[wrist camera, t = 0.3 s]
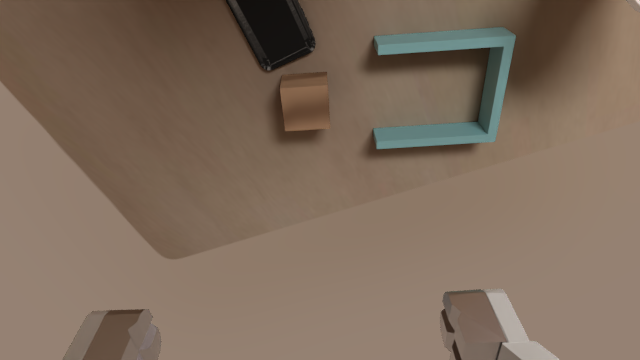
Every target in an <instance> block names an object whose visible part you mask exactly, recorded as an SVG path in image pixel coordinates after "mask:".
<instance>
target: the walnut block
mask: <svg viewBox="0 0 640 360" xmlns="http://www.w3.org/2000/svg"><path fill="white" fill-rule="evenodd" d="M280 95H281V102H282V110H283V118H284V126H285V131H299V130H314V129H329V128H330V117H329V99H328V83H327V72H317V73H303V74H288V75H282V79H281V84H280Z"/></svg>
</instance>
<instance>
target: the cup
mask: <svg viewBox="0 0 640 360" xmlns="http://www.w3.org/2000/svg"><path fill="white" fill-rule="evenodd" d="M626 1H627V2H628V3H629V4H630V6H631V7H632V8H633V9H634V10H635V11H638V12H640V0H626Z"/></svg>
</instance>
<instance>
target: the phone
mask: <svg viewBox="0 0 640 360" xmlns="http://www.w3.org/2000/svg"><path fill="white" fill-rule="evenodd" d="M226 2H227V3H228V5H229V7H230V9H231V11H232V13H233V15H234V16H235V18H236V20H237V22H238V24H239V26H240V28H241V30H242V31H243V33H244V35H245V37H246V39H247V41H248V43H249V45H250V46H251V48H252V50H253V52H254V54H255V56H256V58H257V59H258V61H259V63H260V65H261V66H262V68H264V69H265V70H273V69H275V68H277V67H279V66H282V65H284V64H286V63H288V62H291V61H293V60H295V59H297V58H299V57H302V56H304V55H306V54H308V53H310V52H312V51H313V50H314V48H315V39H314V36H313V34H312V31H311V29H310V27H309V24H308V21H307V19H306V17H305V16H304V15H305V14H304V12H303V10H302V8H301V7H300V5H299V3H298V0H226Z"/></svg>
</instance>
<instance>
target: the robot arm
mask: <svg viewBox="0 0 640 360" xmlns="http://www.w3.org/2000/svg"><path fill="white" fill-rule="evenodd" d="M443 304H444V307H445V309H443V310H442V311H441V315H440V328H441V334H442V339H443V342H444V346H445V347H446V348H447V349H448V350H449V351H450V352H451V355H450V360H560V359H558V358H557V357H555V356H554V355H553V354H552V353H550V352H549V351H548V350H547V349H545V348H544V347H542V346H541V345H540V344H539V343H537V342H536V341H529V339H528V337H527V335H526V333H525V331H524V329H523V327H522V325H521V323H520V321H519V319H518V317H517V315H516V313H515V311H514V309H513V307H512V305H511V303H510V301H509V299H508V297H507V295H506V293H505V291H504V290H502V289H486V290H467V291H466V290H465V291H451V292H445V293H444V295H443ZM152 318H153V316H152V315H151V313H150V311H149V309H142V310H110V311H92V312H91V313H90V314H89V315H87V317H86V318H85V320H84V322H83V324H82V326H81V327H80V329H79V331H78V333H77V335H76V336H75V338H74V340H73V342H72V343H71V345H70V347H69V349H68V351H67V352H66V354H65V356H64V358H63V360H157V359H158V357H159V353H160V347H161V336H160V332H159V330H158V327H156V326H155V325H153V324H151V320H152Z"/></svg>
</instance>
